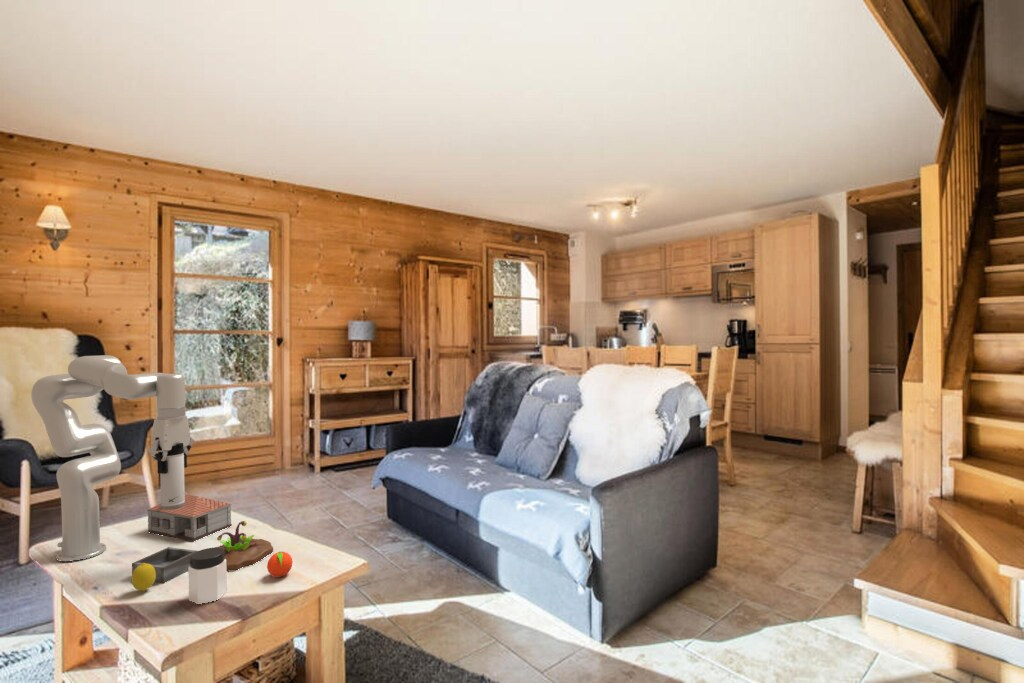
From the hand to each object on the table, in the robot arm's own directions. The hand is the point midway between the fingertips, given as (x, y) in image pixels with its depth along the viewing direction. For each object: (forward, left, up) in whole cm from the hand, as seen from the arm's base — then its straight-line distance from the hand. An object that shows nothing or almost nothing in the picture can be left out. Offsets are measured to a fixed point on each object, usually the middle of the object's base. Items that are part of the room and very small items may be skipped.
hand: (172, 469), depth 162 cm
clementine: (+39, +1, -30) cm, 49 cm away
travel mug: (0, 0, -12) cm, 12 cm away
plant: (+15, +9, -30) cm, 35 cm away
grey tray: (+2, -5, -30) cm, 30 cm away
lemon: (+7, -16, -30) cm, 35 cm away
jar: (+27, -14, -30) cm, 43 cm away
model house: (-20, +24, -30) cm, 43 cm away
